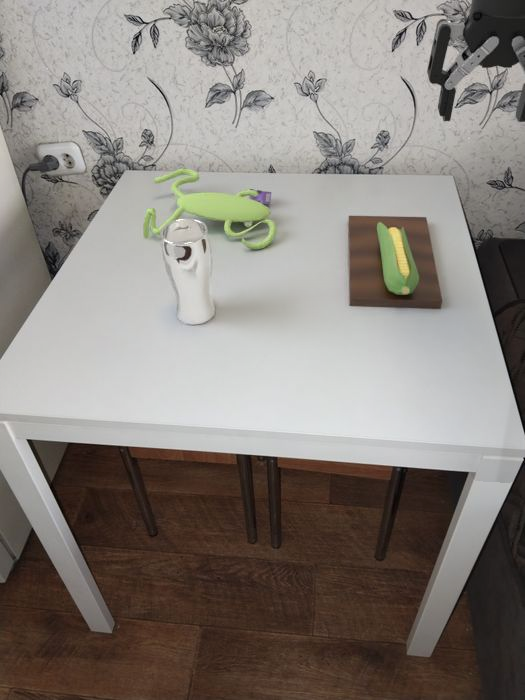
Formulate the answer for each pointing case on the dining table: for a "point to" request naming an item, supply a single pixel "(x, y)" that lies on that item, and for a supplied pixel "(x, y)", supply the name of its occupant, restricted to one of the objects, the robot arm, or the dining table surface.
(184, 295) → the beer glass
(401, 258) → the edible corn
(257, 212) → the figurine
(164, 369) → the dining table surface
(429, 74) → the robot arm
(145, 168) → the dining table surface
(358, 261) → the serving board
